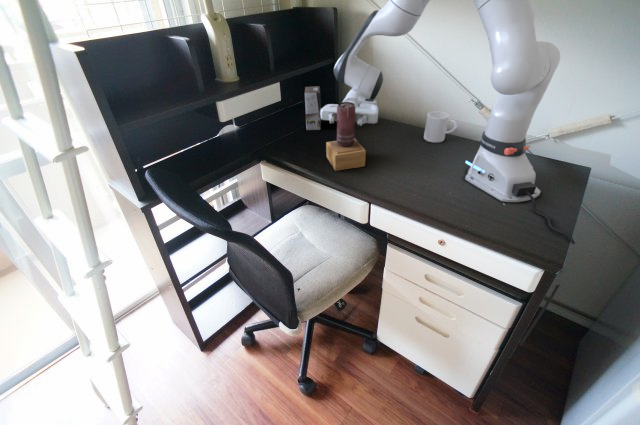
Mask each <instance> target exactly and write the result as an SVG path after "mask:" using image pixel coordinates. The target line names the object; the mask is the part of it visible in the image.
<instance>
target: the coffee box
mask: <svg viewBox="0 0 640 425" xmlns="http://www.w3.org/2000/svg"><path fill="white" fill-rule="evenodd" d="M320 86H321V85H320ZM320 86H319V85H317V86H316V85H315V86H305V87H304V103H305V104H304V107H305V108H304V109H305V125H306V131H320V130H321V128H322V119H321V115H320V112H321V109H322V107H321V103H322V102H321V87H320Z"/></svg>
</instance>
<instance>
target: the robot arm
mask: <svg viewBox="0 0 640 425" xmlns="http://www.w3.org/2000/svg"><path fill="white" fill-rule="evenodd" d="M430 2H431V0H388V1H387V2H386V4H385V5H384V6H383V7H382V8H380V9H378V10H377V9H376V10H373V11H372V12H371V13H370V15H368V17H367V18H366V20H365V21H364V23H363V24H362V25H361V27H360V29H359V30H358V31H357V33H356V34H355V36H354V38H352V41H351V42H350V44H349V45H348V47H347V48H346V49H345V51H344V53H342V54H341V55H340V57H339V58H338V59H337V61H336V62H335V64H334V67H333V76H334V77H335V79H336V81H337V82H339V83H341V84H344V85H347V86H348V87H350V88H351V89H350V90H349V91H348V92H347V94H346V95H345V97H344V98H343V100H342V102H351V103H354V105H355V123H356V126H360V127H361V126H363V125H364V124H373V125H374V124H377V123H378V122H379V121H378V120H379V106H378V103H377V100H375V99H376V97H377V96H378V95H379V92H380V90H381V88H382V85H383V82H384V75H383V72H382V70H380V69H378V68H377V67H375V66H373V65H371V64H369V63H367V62H365V61H364V60H362V59H360V58H359V57H358V56H357V55H358V54H359V52H360V51H361V49H362V48H363V46H364V44H365V43H366V41H367V40H368V39H369V38H371V37H374V36H384V37H401V36H404V35H406V34H408V33H410V32H412V30H413V28H414V27H415V26H416V24H417V23H418V21H419V20H420V18H421V16H422V15H423V13H424V11H425V9H426V7H427V6H428V4H429V3H430ZM473 2H474V5H475V8H476V10H477V12H478V15H479V17H480V20H481V23H482V26H483V29H484V31H485V34H486V37H487V40H488V44H489V50H490V58H491V65H492V70H491V73H490V82H491V86H492V87H493V89H494V90H495V91H496V92H497V93H499V94H498V96H497V98H496V100H495V102H494V103H493V104H492V107H491V109H490V112H489V116H488V120H487V123H486V126H485V130H484V131H483V132H482V134H481V137H480V141H479V144H480V145H479V148H478V150H477V152H476V154H475V155H474V156H475V157H474V158H473V161H472V162H470V161H468V160H465V164H467V165H468V166H469V168H468V169H467V174H466V175H465V177H464V180H465V181H467V182H468V183H470V184H472V185H474V186H475V187H477V188H478V189H480V190H482V191H484V192H485V193H487V194H489V195H490V196H492V197H494V198H495V199H497V200H499V202H502V203H503V202H504V203H521V202H526V201H531V203H532V211H533V212H534V213H535V214H537V215H538V216H541V217H543V218H545V219H546V221H547V225H548V227H549V229H551V230H552V231H554V232H555V233H558V234H560V235H563V236H564V237H566V238H568V240H569V241H570V243H571V244H572V245H575V244H576V242H575V240H574V238H573V237H572V236H571V235H570V234H569V233H567V232H566V231H563V230H561V229H559V228H556V227H554V225H553V224H552V219H551V218H550V216H549V215H547V214H546V213H543V212H540V211H539V210H537V207H536V206H537V203H536V198H538V197H539V196H540V195H541V193H542V192H541V190H540V189H539V187H537V185H535V183H536V178H537V173H536V171H535V170H534V166H533V164H531V162H530V160H529V158H528V157H527V155H526V150H530V148H531V145H527V138H526V136H527V133H528V130H529V129H530V125H531V123H532V120H533V117H534V115H535V113H536V111H537V108H538V106H539V104H540V103H541V102H542V99H543V97H544V95H545V93H546V92H547V89H548V87H549V85H550V83H551V81H552V78H553V76H554V74H555V73H556V70H557V69H558V66H559V64H560V61H561V53H560V49H559V48H558V47H557V46H556V45H555V44H554V43H551V42H548V41H541V40H540V41H539V40H538V41H537V35H536V29H535V10H534V7H533V5H532V1H531V0H473ZM338 104H339V103H338ZM338 104H337V103H336V104H335V103H328V104H325V105H324V106H323V107H321V112H320V115H321V121H329V124H335V123H336V122H337V106H338ZM560 286H561V284H560V283H559V284H556V285H555V287H554V288H553V290H552V292H551V294H550V296H549V297H548V299H547V300H546V302H545V304H544V305H543V307H542V308H541V310H540V312H539V313H538V314H537V316H536V317H535V319H534V320H533V322H532V324H530V326H529V328H528V330H527V331H526V333H525V334H524V336H523V338H522V340H521V341H520V343H519V346H520V347H522V346H523V345H524V343H525V341H526V340H527V338H528V336H529V335H530V334H531V332H532V330H533V329H534V327H535V326H536V324H537V323H538V321H539V320H540V318H541V317H542V316H543V314H544V313H545V311H546V309H547V308H548V306H549V304H550V303H551V301H552V300H553V298H554V297H555V295H556V294H557V291H558V290H559V289H560Z"/></svg>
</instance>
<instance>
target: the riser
mask: <svg viewBox="0 0 640 425" xmlns="http://www.w3.org/2000/svg"><path fill="white" fill-rule="evenodd" d="M325 147H326V148H325V152H326V154H325V155H326V158H327V160H328V162H329V164H330V165H331V166H332V168H333V170H334V171H335V172H338V171H345V170H348V169H356V168H361V167H365V166H366V157H367V156H366V154H367V150H366V149H365V148H364V147H363V146H362V144H360V142H359V141H358V140H357V139H356V138H355V137H354V144H353V145H352V146H350V147H341V146H339V145H338V144H337V140H333V141H332V140H331V141H326V142H325Z"/></svg>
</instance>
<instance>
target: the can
mask: <svg viewBox="0 0 640 425" xmlns="http://www.w3.org/2000/svg"><path fill="white" fill-rule="evenodd" d="M355 129H356V122H355V105H354V103H351V102H343V101H342V102H340V103H338V106H337V121H336V141H337V144H338V145H339V146H341V147H350V146H352V145H353V144H354V138H355V131H356V130H355Z"/></svg>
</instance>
